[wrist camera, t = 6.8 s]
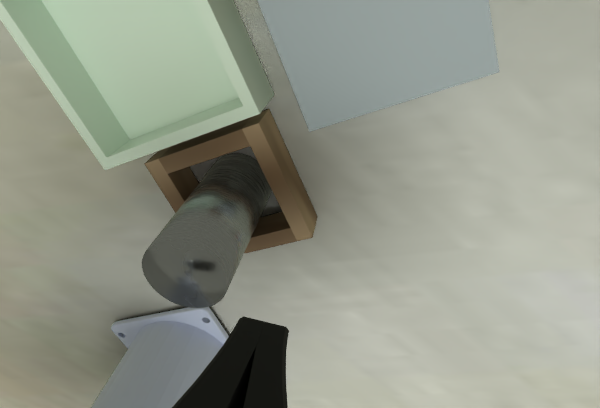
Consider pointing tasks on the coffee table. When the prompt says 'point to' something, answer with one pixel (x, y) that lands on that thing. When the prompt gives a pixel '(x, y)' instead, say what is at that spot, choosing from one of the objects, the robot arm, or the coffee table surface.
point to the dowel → (208, 234)
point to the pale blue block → (377, 51)
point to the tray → (141, 68)
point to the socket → (273, 161)
